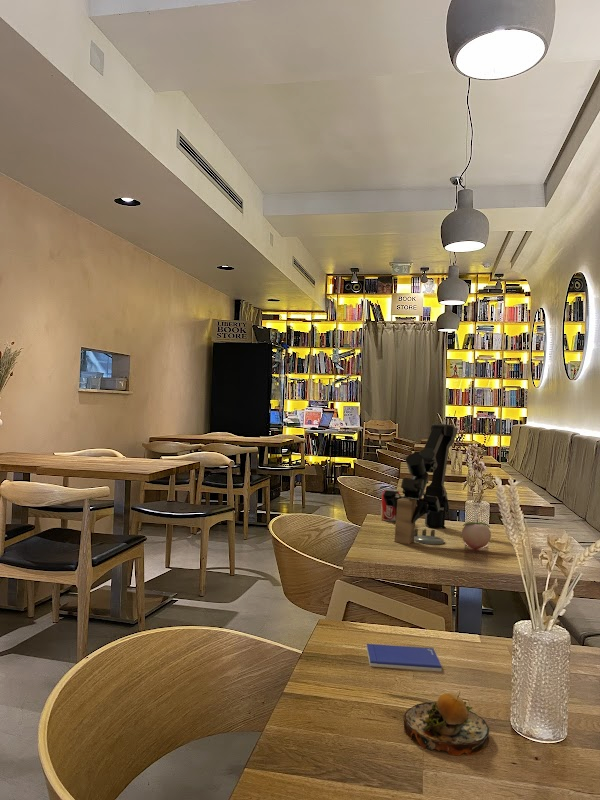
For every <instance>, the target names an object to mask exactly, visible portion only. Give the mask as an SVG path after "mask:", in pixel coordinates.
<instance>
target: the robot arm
mask: <svg viewBox="0 0 600 800" xmlns="http://www.w3.org/2000/svg"><path fill="white" fill-rule="evenodd" d="M457 434H458V429H457V427H455V425H454V424H446V423H445V424H444V423H437V424H436V423H434V424H432V425H431V428H430V433H429V435H428V438H427V440H426V442H425V445H424V447H423V449H422V450H420V451H418V450H417V451H416V450H414V453H411V454H409V455H408V456H406V458H405V462H406V466H407V469H408V472H409V474H410V475H411V477H410V478H406V477H402V480H401V483H400V488H401V489H402V494H404V495H401V494H400V493H399V494H397V492H396V491H391V490H386V491H385V492H384V491H383V492H384V494H383V497H384V499H385V502H386V505H388V506H394V508H395V519H396V513H397V500H398V499H401V498H407V499H414V500H417V506H416V510H415V512H414V515H413V517H412V521H411V522H412V523H414V522H415V523H416V521H418V519H420V518H421V517H423V516H424V525H425V526H426V527H427V528H434V529H446V528H447V527H446V526H445V524H446V523H445V521H446V513H450V502H449V499H448V492H447V490H446V487H445V480H446V479H445V478H446V471H447V465H448V458H449V452H450V451H449V450H450V447H452V445H453V444H454V443H455V440H456V439H455V438H456V437H457ZM429 473H431V474H432V477H431V483H430V484H429V477H430V475H429ZM427 484H428V485H427Z"/></svg>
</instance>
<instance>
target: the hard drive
mask: <svg viewBox="0 0 600 800" xmlns="http://www.w3.org/2000/svg"><path fill="white" fill-rule="evenodd" d="M365 649H366V652H367V657H368V662H369V667H377V668H378V667H379V668H387V669H389V668H391V669H404V670H413V671H414V670H415V671H433V672H442V670H443V669H442V664H441V661H440V659H439V657H438V655H437V653H436V651H435V649H434V648H433V647H419V646H406V645H405V646H404V645H393V644H392V645H390V644H378V643H377V644H376V643H375V644H374V643H373V644H372V643H366V648H365Z"/></svg>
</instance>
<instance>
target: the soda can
mask: <svg viewBox="0 0 600 800" xmlns="http://www.w3.org/2000/svg"><path fill="white" fill-rule="evenodd" d="M386 490H391V491H396V492H397V494H400V492H399V489H395V488H384V489H383V492H382V494H381V504H380V518H381V519H382V520H383V521H385V522H390V523H391V522H392V523H393V522H395V523H396V519H395V508H394V506H388V505H386V502H385V499H384V497H383V494H384V492H385V491H386Z"/></svg>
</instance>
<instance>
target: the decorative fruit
mask: <svg viewBox="0 0 600 800" xmlns="http://www.w3.org/2000/svg"><path fill="white" fill-rule="evenodd" d="M490 528H491V527H490V525H489V524H488V523H485V522H481V521H480V522H479V519H478V518H477V519H476V522H473V521H468V522H467V521H466V522H465V523H464V524H463V525H462V530H461V538H462V540H463V541H464V543H465V544H466V545H467V546H468V547H469V548H471V549H472V550H473V551H476V550H479V549H481V548H484V547H486V546H487V545H488V544H489V542H490V541H491V538H492V533H491V530H490Z"/></svg>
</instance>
